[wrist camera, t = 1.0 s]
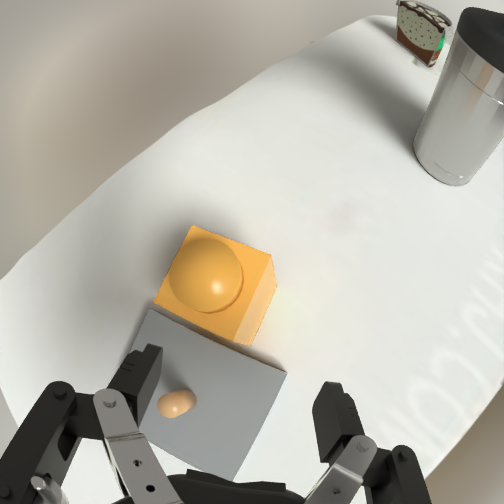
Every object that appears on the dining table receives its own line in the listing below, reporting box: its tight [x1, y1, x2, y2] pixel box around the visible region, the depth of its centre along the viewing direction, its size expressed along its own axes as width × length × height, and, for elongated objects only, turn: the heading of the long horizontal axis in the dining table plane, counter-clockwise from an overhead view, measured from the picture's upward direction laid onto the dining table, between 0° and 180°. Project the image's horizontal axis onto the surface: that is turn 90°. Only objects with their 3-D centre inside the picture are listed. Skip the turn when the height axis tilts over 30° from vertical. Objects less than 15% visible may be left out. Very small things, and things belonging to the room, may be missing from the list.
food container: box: [395, 0, 453, 67], centre depth 33 cm, size 12×6×10 cm, turn 22°
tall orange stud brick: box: [153, 225, 277, 346], centre depth 22 cm, size 6×6×11 cm
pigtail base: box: [129, 309, 287, 481], centre depth 22 cm, size 12×14×6 cm
